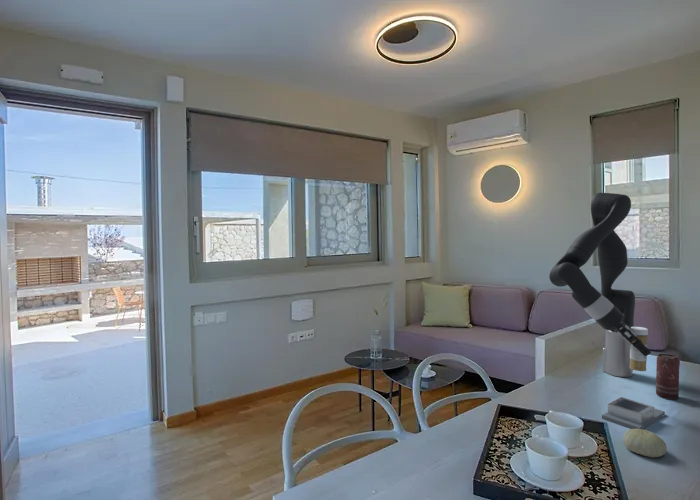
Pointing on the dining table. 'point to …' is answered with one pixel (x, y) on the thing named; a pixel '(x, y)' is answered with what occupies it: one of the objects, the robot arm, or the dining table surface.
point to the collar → (631, 410)
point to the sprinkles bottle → (635, 355)
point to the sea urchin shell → (644, 443)
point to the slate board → (633, 425)
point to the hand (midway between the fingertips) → (645, 351)
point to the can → (667, 376)
